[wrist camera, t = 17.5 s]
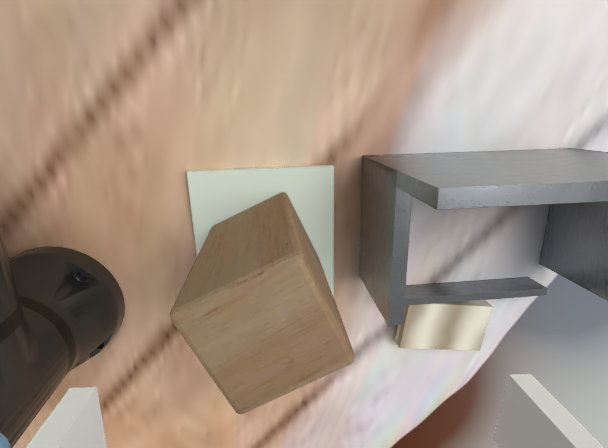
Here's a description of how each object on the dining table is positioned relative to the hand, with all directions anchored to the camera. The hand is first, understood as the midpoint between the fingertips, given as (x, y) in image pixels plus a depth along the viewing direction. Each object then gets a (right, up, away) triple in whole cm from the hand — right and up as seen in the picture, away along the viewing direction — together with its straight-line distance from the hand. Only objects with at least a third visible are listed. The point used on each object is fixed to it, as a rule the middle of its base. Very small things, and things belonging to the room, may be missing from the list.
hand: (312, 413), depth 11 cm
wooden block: (-5, +4, +33) cm, 33 cm away
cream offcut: (+19, -7, +39) cm, 44 cm away
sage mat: (-5, +4, +33) cm, 34 cm away
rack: (+21, +6, +36) cm, 42 cm away
